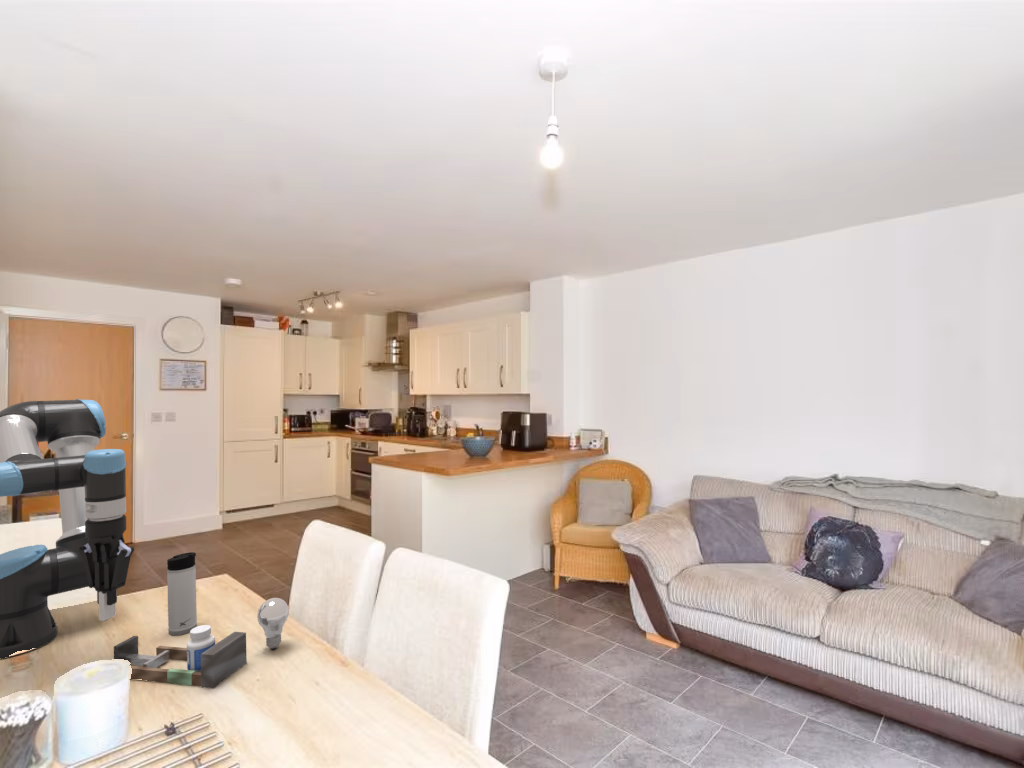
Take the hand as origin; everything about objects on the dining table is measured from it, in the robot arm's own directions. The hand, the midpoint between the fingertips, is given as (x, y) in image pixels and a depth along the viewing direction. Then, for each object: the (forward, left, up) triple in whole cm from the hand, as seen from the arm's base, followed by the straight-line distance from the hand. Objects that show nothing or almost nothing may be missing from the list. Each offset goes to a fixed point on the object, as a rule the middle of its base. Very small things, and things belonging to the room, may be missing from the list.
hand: (107, 617), depth 120 cm
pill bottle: (+25, -1, -11) cm, 28 cm away
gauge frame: (+21, 0, -10) cm, 23 cm away
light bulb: (+35, +12, -11) cm, 38 cm away
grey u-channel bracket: (+9, 0, -10) cm, 14 cm away
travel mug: (+5, +17, -11) cm, 20 cm away
